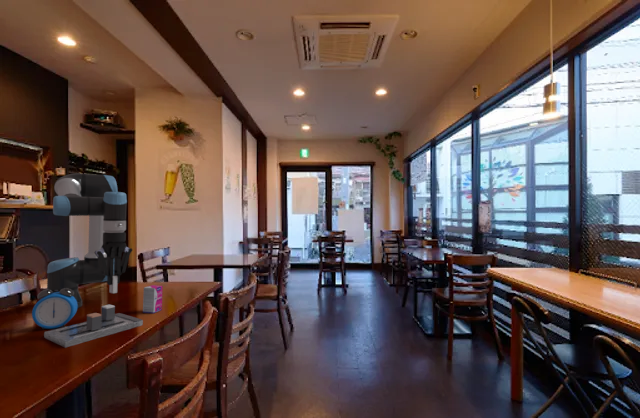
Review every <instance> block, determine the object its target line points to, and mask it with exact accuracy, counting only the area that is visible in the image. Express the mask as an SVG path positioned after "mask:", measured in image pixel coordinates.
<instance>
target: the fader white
mask: <svg viewBox="0 0 640 418" xmlns="http://www.w3.org/2000/svg"><path fill="white" fill-rule="evenodd" d="M115 311H116V306H115V305H113V304H106V305H102V306H101V319H103V320H106V321H107V320H111V319H115V314H116V312H115Z"/></svg>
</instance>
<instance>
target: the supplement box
mask: <svg viewBox="0 0 640 418" xmlns="http://www.w3.org/2000/svg"><path fill="white" fill-rule="evenodd" d="M142 298H143V299H142V304H143V305H142V313H143V314H153V315H154V314H155V313H157V312H160V311H162V309H163V285H156V284H153V285H148V286H145V287H143V297H142Z"/></svg>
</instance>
